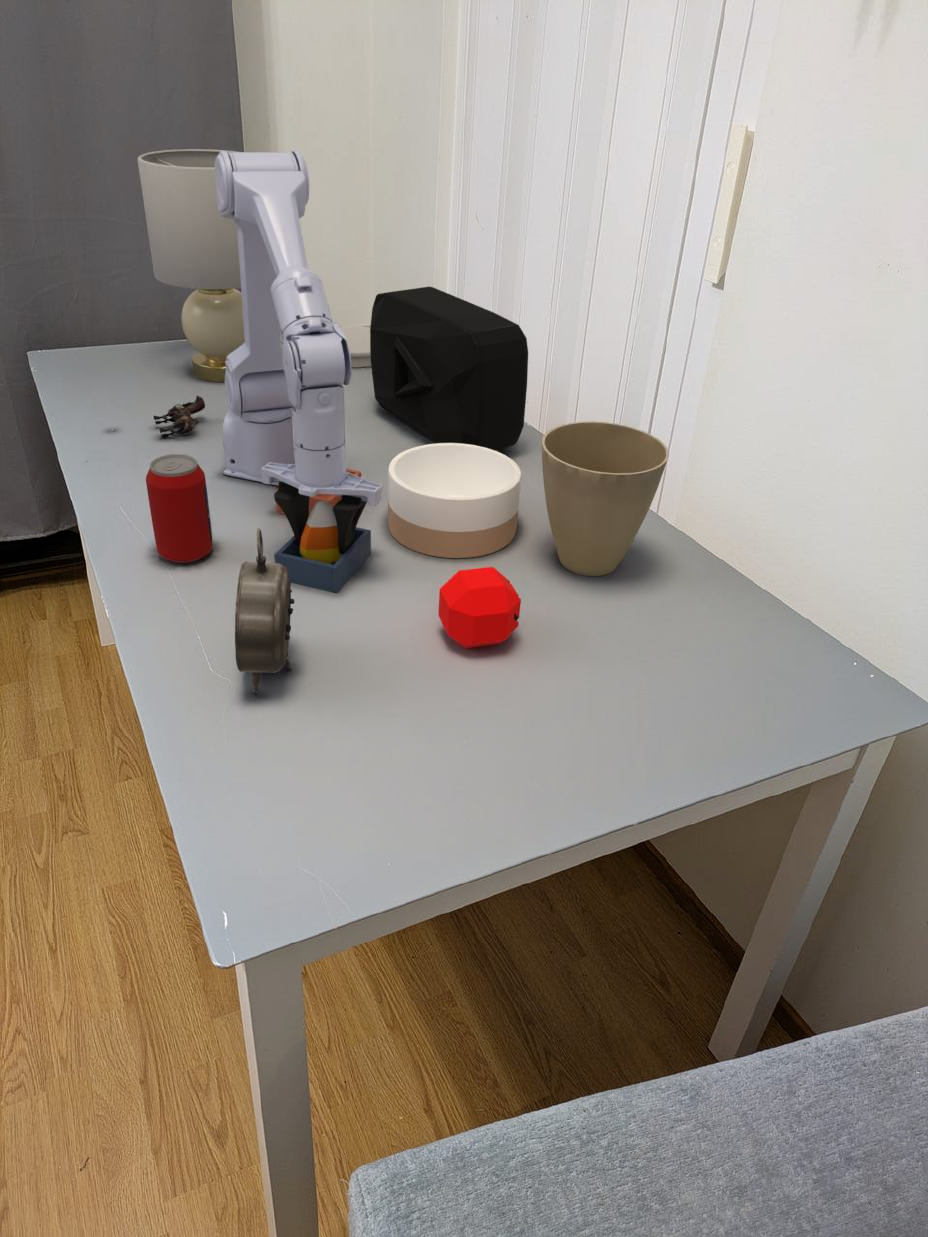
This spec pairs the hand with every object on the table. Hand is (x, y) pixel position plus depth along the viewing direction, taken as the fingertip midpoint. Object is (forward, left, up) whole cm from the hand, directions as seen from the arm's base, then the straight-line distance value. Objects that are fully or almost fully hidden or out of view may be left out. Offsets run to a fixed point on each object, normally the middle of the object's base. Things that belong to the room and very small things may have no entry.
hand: (323, 545), depth 111 cm
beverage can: (-17, -4, -3) cm, 18 cm away
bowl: (+11, +16, -3) cm, 20 cm away
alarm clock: (+4, -21, -3) cm, 22 cm away
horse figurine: (-41, +27, -3) cm, 49 cm away
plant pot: (+30, +14, -3) cm, 33 cm away
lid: (-32, +74, -3) cm, 81 cm away
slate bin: (0, 0, -3) cm, 3 cm away
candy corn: (0, 0, -2) cm, 2 cm away
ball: (+22, -7, -3) cm, 23 cm away
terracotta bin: (-8, +15, -3) cm, 17 cm away
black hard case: (-2, +46, -3) cm, 46 cm away
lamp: (-47, +55, -3) cm, 72 cm away
